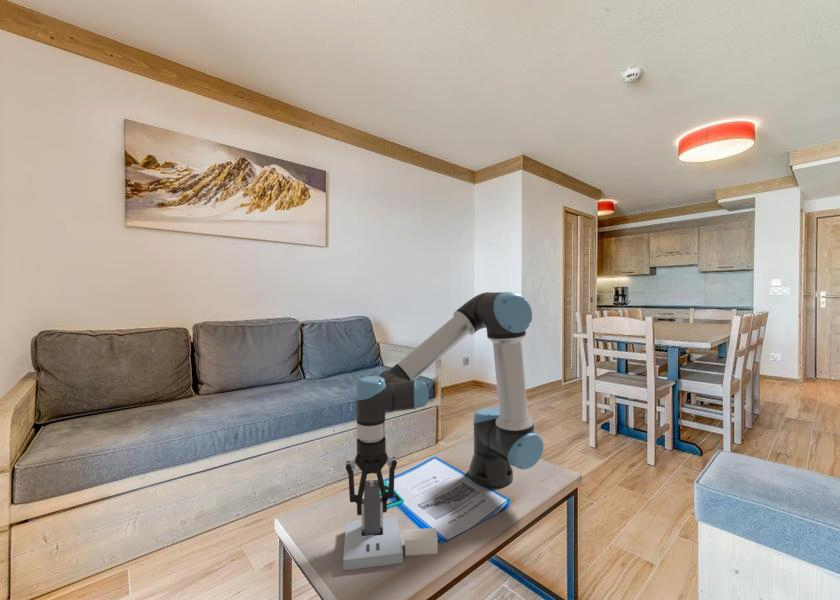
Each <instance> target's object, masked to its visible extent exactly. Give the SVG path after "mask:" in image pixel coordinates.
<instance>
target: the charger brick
mask: <svg viewBox="0 0 840 600" xmlns="http://www.w3.org/2000/svg"><path fill="white" fill-rule="evenodd" d="M363 498H364V519H365V532H364V535H365V536H367V535H368V536H370V535H373V534H374V535H378V534H381V530H380V486H379V482H378V479H370V480H366V482H365V487H364V492H363Z"/></svg>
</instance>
